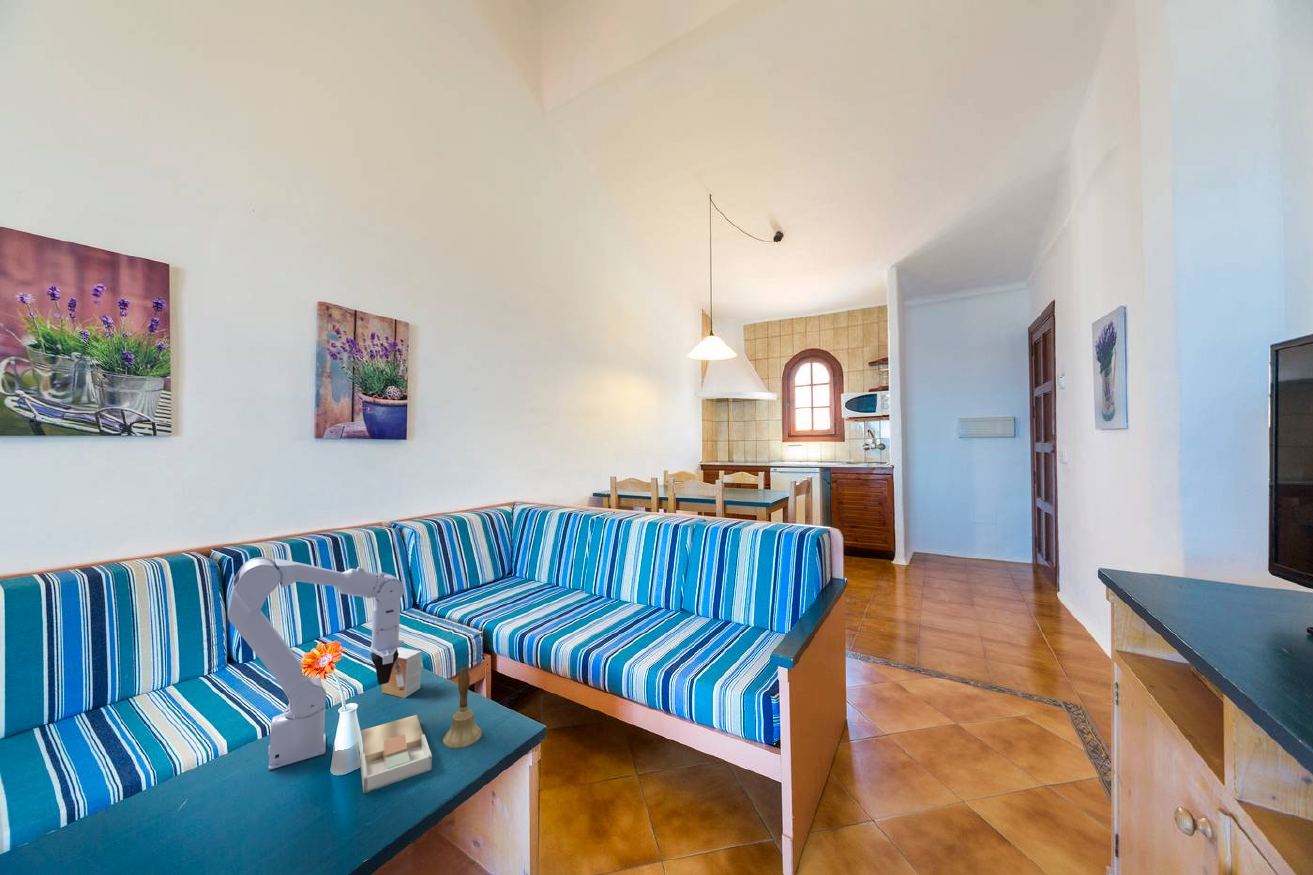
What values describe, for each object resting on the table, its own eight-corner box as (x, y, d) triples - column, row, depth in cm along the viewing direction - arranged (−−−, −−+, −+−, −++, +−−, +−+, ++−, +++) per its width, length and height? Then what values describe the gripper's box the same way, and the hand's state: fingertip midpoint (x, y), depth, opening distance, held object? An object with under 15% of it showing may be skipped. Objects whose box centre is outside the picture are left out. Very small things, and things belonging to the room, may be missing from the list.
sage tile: (386, 781, 91) (387, 768, 91) (384, 769, 94) (385, 757, 94) (409, 773, 93) (410, 760, 93) (406, 761, 96) (407, 749, 97)
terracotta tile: (384, 765, 94) (385, 755, 94) (382, 750, 98) (383, 740, 97) (406, 758, 97) (407, 748, 96) (403, 744, 100) (404, 734, 100)
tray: (363, 793, 88) (363, 778, 88) (360, 767, 95) (361, 753, 95) (431, 769, 95) (432, 755, 95) (424, 746, 102) (424, 734, 102)
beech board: (360, 767, 95) (361, 757, 95) (357, 740, 104) (358, 731, 104) (424, 746, 102) (424, 737, 102) (416, 723, 111) (416, 714, 111)
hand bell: (449, 753, 100) (452, 679, 101) (438, 735, 107) (441, 666, 107) (486, 739, 106) (489, 669, 106) (474, 722, 112) (477, 656, 113)
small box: (381, 693, 124) (383, 654, 125) (398, 683, 130) (400, 646, 130) (404, 698, 122) (406, 658, 123) (420, 688, 127) (422, 650, 128)
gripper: (408, 632, 108) (406, 690, 107) (400, 614, 120) (398, 667, 119) (373, 638, 104) (370, 699, 103) (369, 619, 115) (366, 674, 115)
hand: (383, 682), depth 111 cm, fingers closed
